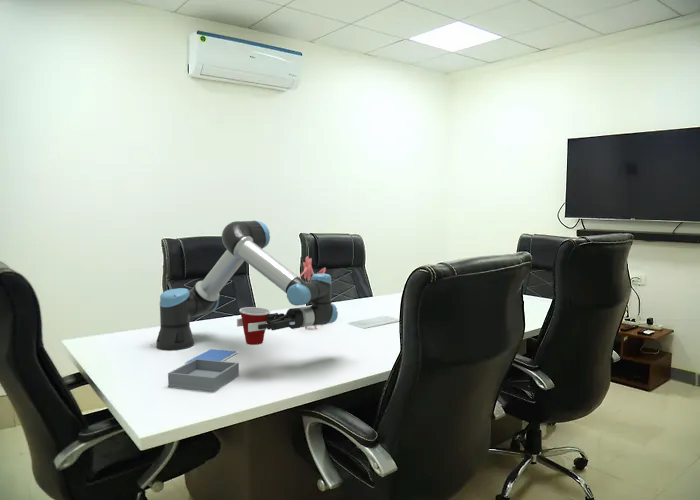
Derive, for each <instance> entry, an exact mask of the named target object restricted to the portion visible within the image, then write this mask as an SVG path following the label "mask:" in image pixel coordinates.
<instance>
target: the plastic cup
mask: <svg viewBox="0 0 700 500" xmlns="http://www.w3.org/2000/svg"><path fill="white" fill-rule="evenodd" d="M238 311H239V314H240V316H241V317H240V318H242V322H243V326H242V329H243V334H244V339H245V342H246V343H245V344H247V345H252V346H258V345H262V344H263V343H264V339H265V333H266V330H259V331H252V332H248V324H249V323H257V322H264V321H266V324H267V319H268V316H269V314H271V310H270V309H267V308H264V307H256V306H250V307H249V306H248V307H247V306H245V307H240V309H239V310H238Z"/></svg>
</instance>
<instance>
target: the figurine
mask: <svg viewBox="0 0 700 500" xmlns="http://www.w3.org/2000/svg"><path fill="white" fill-rule="evenodd" d="M312 260H313V259H312V257H310V258H309V256H308V255H307V256H306V257H305V262H303V263H302V266H303V267H302V268H303V271H302V272H301V273H300V275H299V276H298V277H299V278H300V279H301V278H302V276H303V278H304V279H307V281H306V282H310V281H311V280H312V275H313V274H315V272H314V270H313V266H312V263H313V261H312ZM326 271H327V268H326V267H323V268H321V269H320V270H319V272H318V273H317V274H326ZM310 303H311V304H312V302H310ZM308 327H309V326H307V328H308ZM304 328H305V327H304ZM307 328H305V330H306V329H307ZM314 328H315V330H317V329H318V328H317V325H315V326H314ZM292 330H294V331H295V329H292Z"/></svg>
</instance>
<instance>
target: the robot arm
mask: <svg viewBox="0 0 700 500" xmlns="http://www.w3.org/2000/svg"><path fill="white" fill-rule="evenodd" d="M221 232H222V233H221V241H222V244H223V246H224V248H225V249H226V250H225V251H224V253H223V254H222V255H221V256H220V258H219V259H218V260H217V262H216V263H215V265H214V266H213V267H212V269H210V271H209V272H208V273H207V275H206V276H205V277H204V278H203V279H202V280H199V281H197V282H195V285H194V286H193V287H192V288H191V289H188V288H184V287H183V288H182V287H180V288H178V287H177V288H172V289H167V290H165V291H163V292H162V293H161V295H160V297H159V314H160V315H159V317H160V319H159V322H160V324H159V325H160V329H159V332H158V336H157V338H156V341H155V342H156V343H155V344H156V345H155V346H156V348H157V349H159V350H165V351H166V350H167V351H175V350H176V351H177V350H178V351H179V350H184V349H188V348H191V347H193V346H194V345H195V338H194V336H193V332H192V329H191V327H190V322H191V321H190V318H194V317H198V316H202V315H207V314H210V313H212V312H214V311H215V310H216V309H217V308H218V306H219V304H220V303H219V302H220V301H219V300H220V295H221V294H220V292H221V291H222V289H223V288H224V287H225V286H226V285H227V283H228V282H229V280H230V279H231V278H232V277H233V275H234V274H235V273H236V272H237V271H238V269H239V268H240V267H241V266H242V265H243V263H244V262H246V263H247V264H248V265H250V266H251V267H252V268H253V269H255V270H256V271H257V272H259V273H260V275H262V276H264V277H265V278H266V279H267V280H269V281H270V282H272V283H273V285H275V286H276V287H278V288H279V289H280V290H281V291H283V292H284V293H285V294H286V298H287V300H288V302H289V303H290V304H291V305H293V306H295V307H292V308H288V309H287V311H286V313H279V312H275V313H270V314H269V316H268V319H267V323H266V321H264V322H257V323H249V324H248V332H252V331H259V330H265V331H266V330H271V331H276V330H280V329H281V330H283V329H286V328H289V329H290V330H293V329H294V330H296V329H300V328H306V329H308V327H315V326H321V325H322V326H324V325H329V324H333V323H334V322H336V321H337V319H338V316H339V313H338V312H339V311H338V308H337V307H336V305H335V304H334V303H332V286H333V284H332V275H330V274H328V273H324V274H318V273H314V274H312V275H311V277H312V280H311V279H310V280H309V282H308V281H305V280H303V279H302V278H301V277H300V278H299V276H298V275H297V274H295V273H294V272H293V271H291V270H290V269H289V268H288V267H286V266H285V265H283V264H282V263H281V262H280V261H278V260H277V259H276V258H275V257H274V256H272V255H270V254H269V253H268V251H267V252H266V251H265V250H264V248H266V247H267V246H268V245H269V243H270V241H271V240H270V239H271V236H270V230H269V228H268V226H267V225H266V223H264V222H262V221H259V220H244V221H240V220H239V221H238V220H237V221H232V222H229V223H228V224H227V225H226V226H225V227H223V230H222V231H221ZM311 302H312V303H311ZM310 303H311V305H309V306H307V304H310ZM304 305H306V306H304ZM296 306H297V307H296ZM298 306H300V307H298ZM307 326H308V327H307ZM236 327H243V322H242V317H240V318H236Z"/></svg>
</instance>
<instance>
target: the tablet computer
mask: <svg viewBox="0 0 700 500" xmlns="http://www.w3.org/2000/svg"><path fill="white" fill-rule="evenodd" d="M237 354H238V351H235V350H226V349H225V350H224V349H213V348H211V349H208V350H207V351H205V352H203V353H200V354H198V355H196V356H195V357H193V358H191V359H189V360H187V361H185V362H184V365H185V364H187V363H189V362H191V361H193V360H195V359H203V360H214V361H224V362H226V360H228V359H230V358H231V357H234V356H235V355H237Z"/></svg>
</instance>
